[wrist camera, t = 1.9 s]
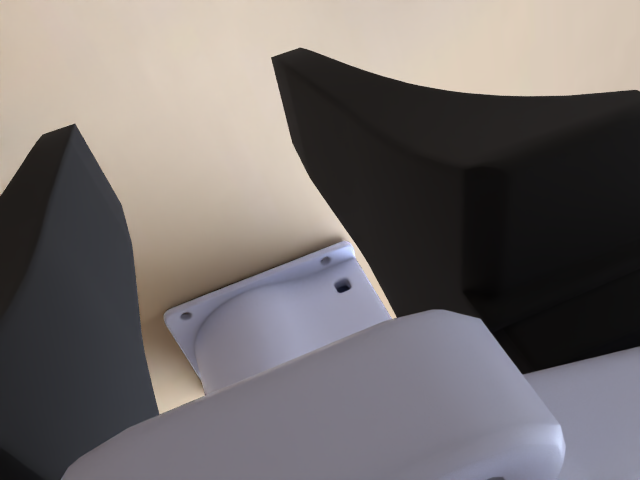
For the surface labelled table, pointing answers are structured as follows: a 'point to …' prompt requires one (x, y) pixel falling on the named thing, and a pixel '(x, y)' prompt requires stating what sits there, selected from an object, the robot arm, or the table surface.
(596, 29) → the table surface
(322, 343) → the robot arm
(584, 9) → the table surface
